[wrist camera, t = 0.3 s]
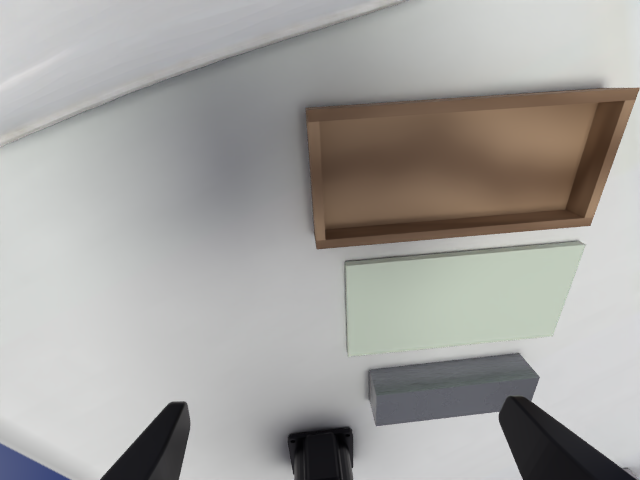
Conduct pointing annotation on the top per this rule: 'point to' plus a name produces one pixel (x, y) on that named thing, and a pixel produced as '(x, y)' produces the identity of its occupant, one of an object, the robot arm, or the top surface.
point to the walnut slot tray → (462, 164)
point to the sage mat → (457, 297)
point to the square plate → (133, 47)
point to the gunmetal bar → (448, 388)
